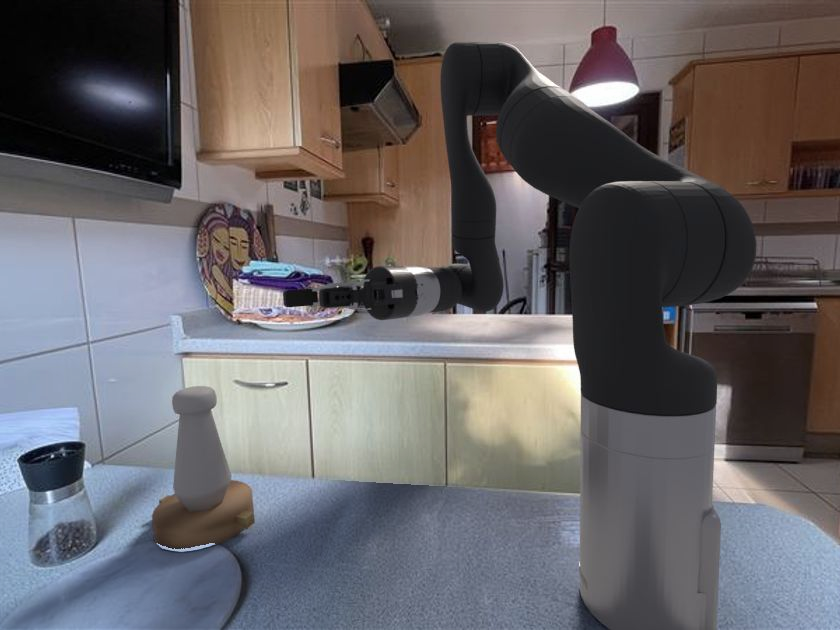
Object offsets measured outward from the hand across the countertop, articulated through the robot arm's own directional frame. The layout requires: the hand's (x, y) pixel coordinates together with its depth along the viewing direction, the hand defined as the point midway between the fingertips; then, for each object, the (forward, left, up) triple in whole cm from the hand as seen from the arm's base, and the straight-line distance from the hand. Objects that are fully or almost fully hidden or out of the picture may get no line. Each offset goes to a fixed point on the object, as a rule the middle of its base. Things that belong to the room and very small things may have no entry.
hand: (301, 298), depth 52 cm
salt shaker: (+8, +9, -22) cm, 25 cm away
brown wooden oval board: (+8, +9, -24) cm, 27 cm away
